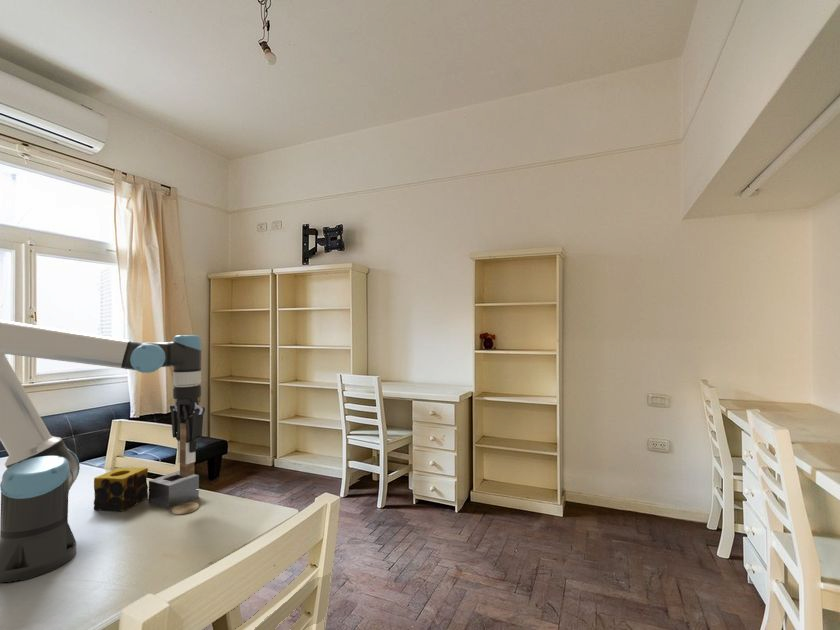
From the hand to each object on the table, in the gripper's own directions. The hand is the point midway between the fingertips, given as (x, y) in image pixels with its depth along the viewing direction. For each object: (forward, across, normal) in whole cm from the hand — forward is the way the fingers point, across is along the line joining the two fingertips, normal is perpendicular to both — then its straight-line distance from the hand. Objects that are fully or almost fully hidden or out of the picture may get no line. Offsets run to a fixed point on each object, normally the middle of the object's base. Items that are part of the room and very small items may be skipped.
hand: (186, 461), depth 125 cm
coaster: (+14, 0, 0) cm, 14 cm away
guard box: (+14, +10, -3) cm, 18 cm away
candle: (+15, +22, +6) cm, 27 cm away
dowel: (+4, 0, 0) cm, 4 cm away
